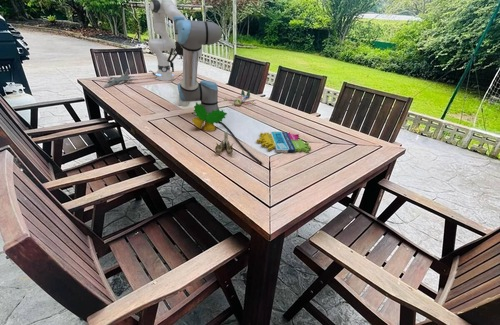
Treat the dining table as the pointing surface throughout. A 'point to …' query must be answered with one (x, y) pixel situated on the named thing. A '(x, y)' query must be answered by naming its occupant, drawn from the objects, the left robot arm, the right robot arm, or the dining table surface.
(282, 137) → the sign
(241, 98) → the toy
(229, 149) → the jawbone
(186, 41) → the right robot arm
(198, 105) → the ornament
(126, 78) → the airplane
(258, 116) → the dining table surface
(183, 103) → the beam
